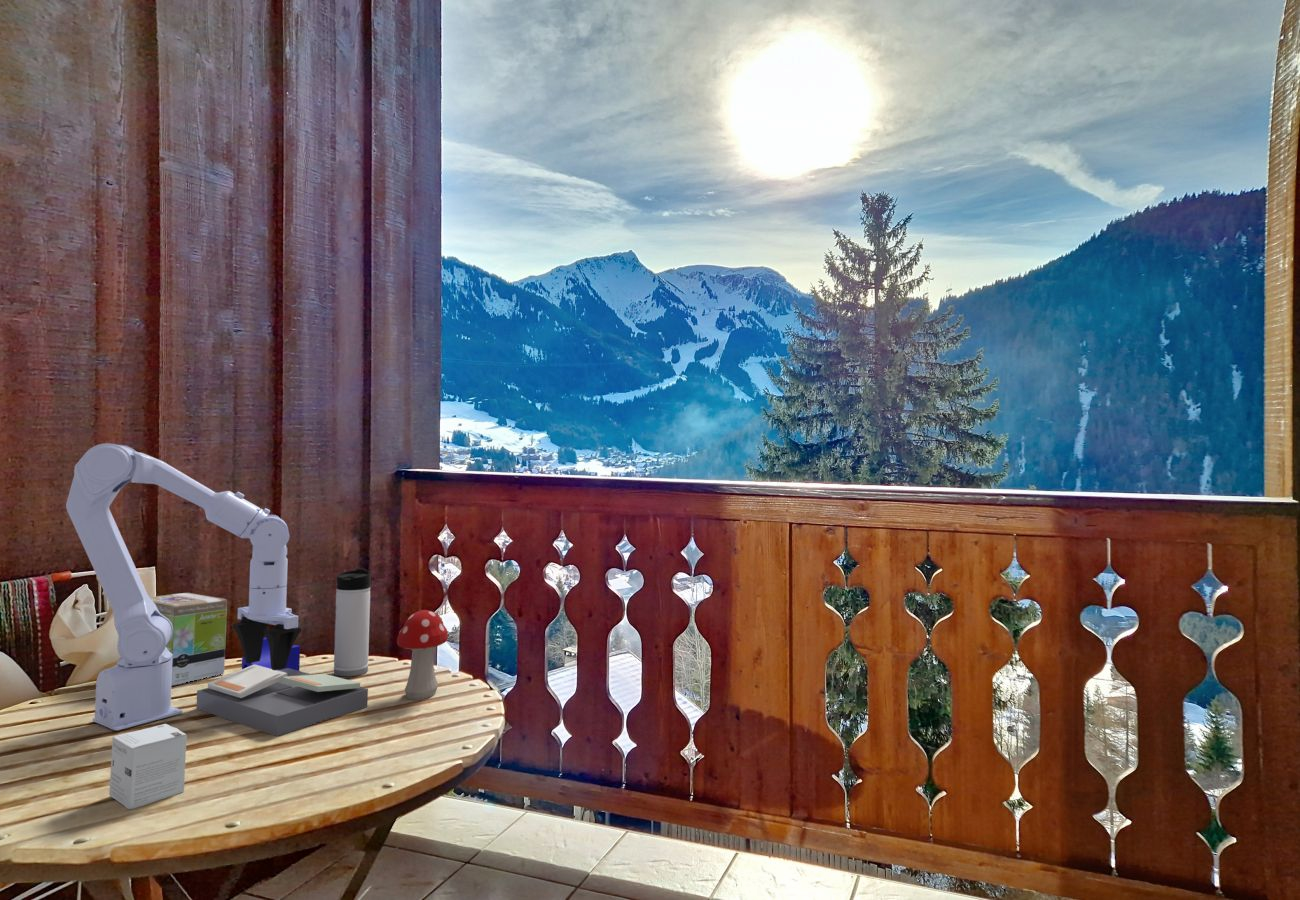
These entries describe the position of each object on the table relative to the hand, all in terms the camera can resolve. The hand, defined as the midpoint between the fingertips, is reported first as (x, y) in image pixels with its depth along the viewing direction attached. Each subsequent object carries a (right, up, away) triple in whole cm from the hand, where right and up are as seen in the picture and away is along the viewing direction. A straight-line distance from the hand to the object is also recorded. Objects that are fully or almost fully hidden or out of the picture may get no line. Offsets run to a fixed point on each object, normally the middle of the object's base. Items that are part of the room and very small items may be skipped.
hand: (265, 665), depth 121 cm
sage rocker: (+11, -2, -3) cm, 12 cm away
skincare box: (+4, -6, -35) cm, 35 cm away
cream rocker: (-2, -2, -3) cm, 3 cm away
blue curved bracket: (-8, -7, +16) cm, 19 cm away
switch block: (+6, -6, 0) cm, 9 cm away
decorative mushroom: (+25, -7, +5) cm, 27 cm away
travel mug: (+7, -7, +18) cm, 21 cm away
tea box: (-25, -7, +15) cm, 30 cm away
